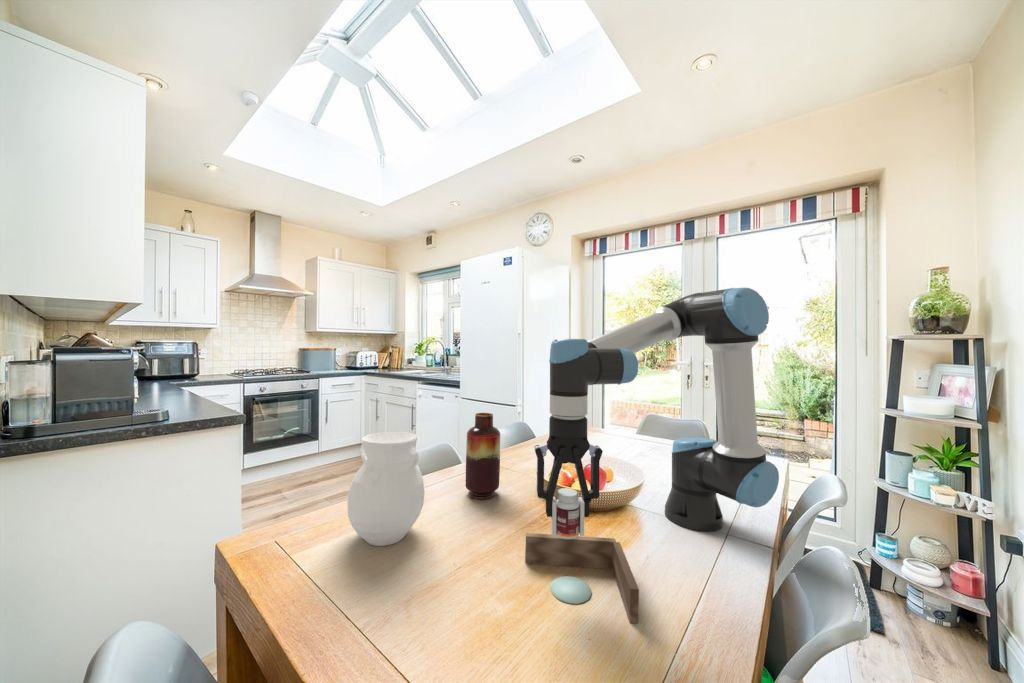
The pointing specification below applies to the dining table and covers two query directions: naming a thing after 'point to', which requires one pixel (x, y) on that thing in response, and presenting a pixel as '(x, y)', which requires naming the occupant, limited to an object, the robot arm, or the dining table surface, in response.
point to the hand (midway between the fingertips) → (567, 531)
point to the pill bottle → (567, 514)
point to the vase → (483, 458)
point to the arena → (587, 561)
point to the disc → (571, 590)
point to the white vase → (386, 488)
